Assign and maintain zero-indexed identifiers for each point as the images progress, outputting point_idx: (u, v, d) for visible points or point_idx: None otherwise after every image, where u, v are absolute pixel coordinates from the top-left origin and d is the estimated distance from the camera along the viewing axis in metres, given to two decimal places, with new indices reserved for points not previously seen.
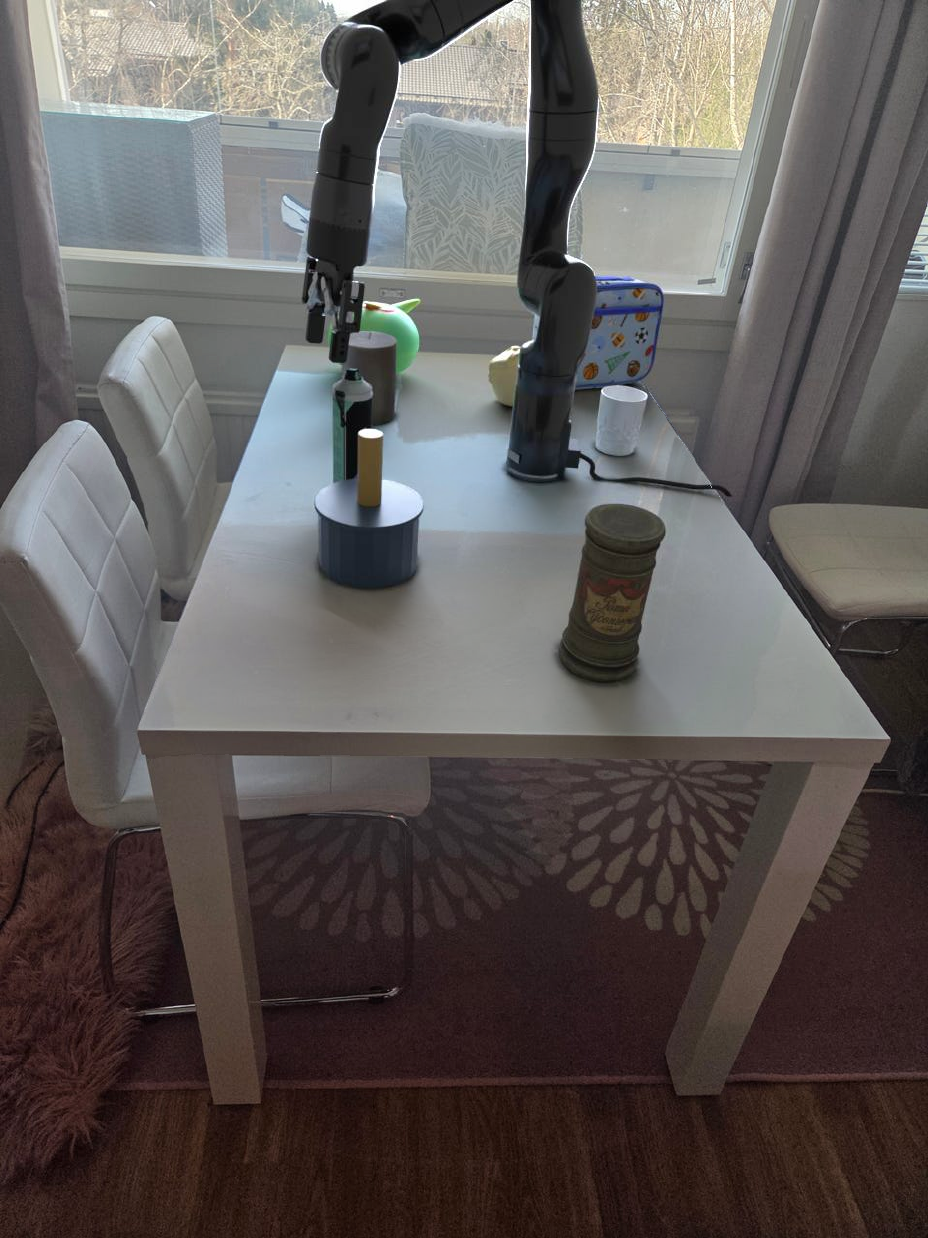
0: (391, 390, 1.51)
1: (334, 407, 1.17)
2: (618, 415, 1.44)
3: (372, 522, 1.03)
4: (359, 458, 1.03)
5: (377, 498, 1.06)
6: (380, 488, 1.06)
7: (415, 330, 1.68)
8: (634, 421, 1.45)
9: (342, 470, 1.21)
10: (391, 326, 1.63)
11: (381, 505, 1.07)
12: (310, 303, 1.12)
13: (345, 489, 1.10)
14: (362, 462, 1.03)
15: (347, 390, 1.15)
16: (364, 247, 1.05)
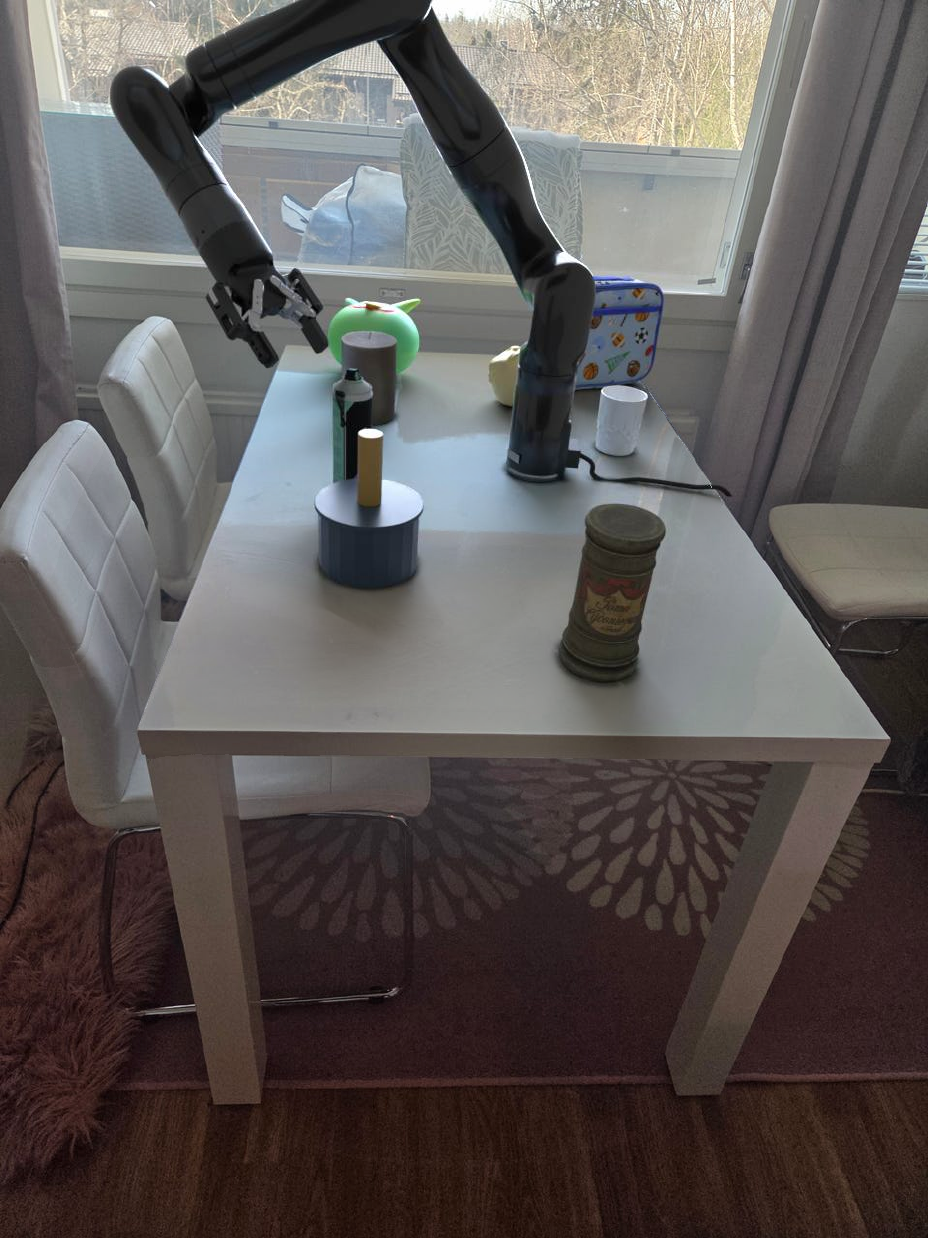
0: (391, 390, 1.51)
1: (334, 407, 1.17)
2: (618, 415, 1.44)
3: (372, 522, 1.03)
4: (359, 458, 1.03)
5: (377, 498, 1.06)
6: (380, 488, 1.06)
7: (415, 330, 1.68)
8: (634, 421, 1.45)
9: (342, 470, 1.21)
10: (391, 326, 1.63)
11: (381, 505, 1.07)
12: None
13: (345, 489, 1.10)
14: (362, 462, 1.03)
15: (347, 390, 1.15)
16: (226, 246, 0.99)
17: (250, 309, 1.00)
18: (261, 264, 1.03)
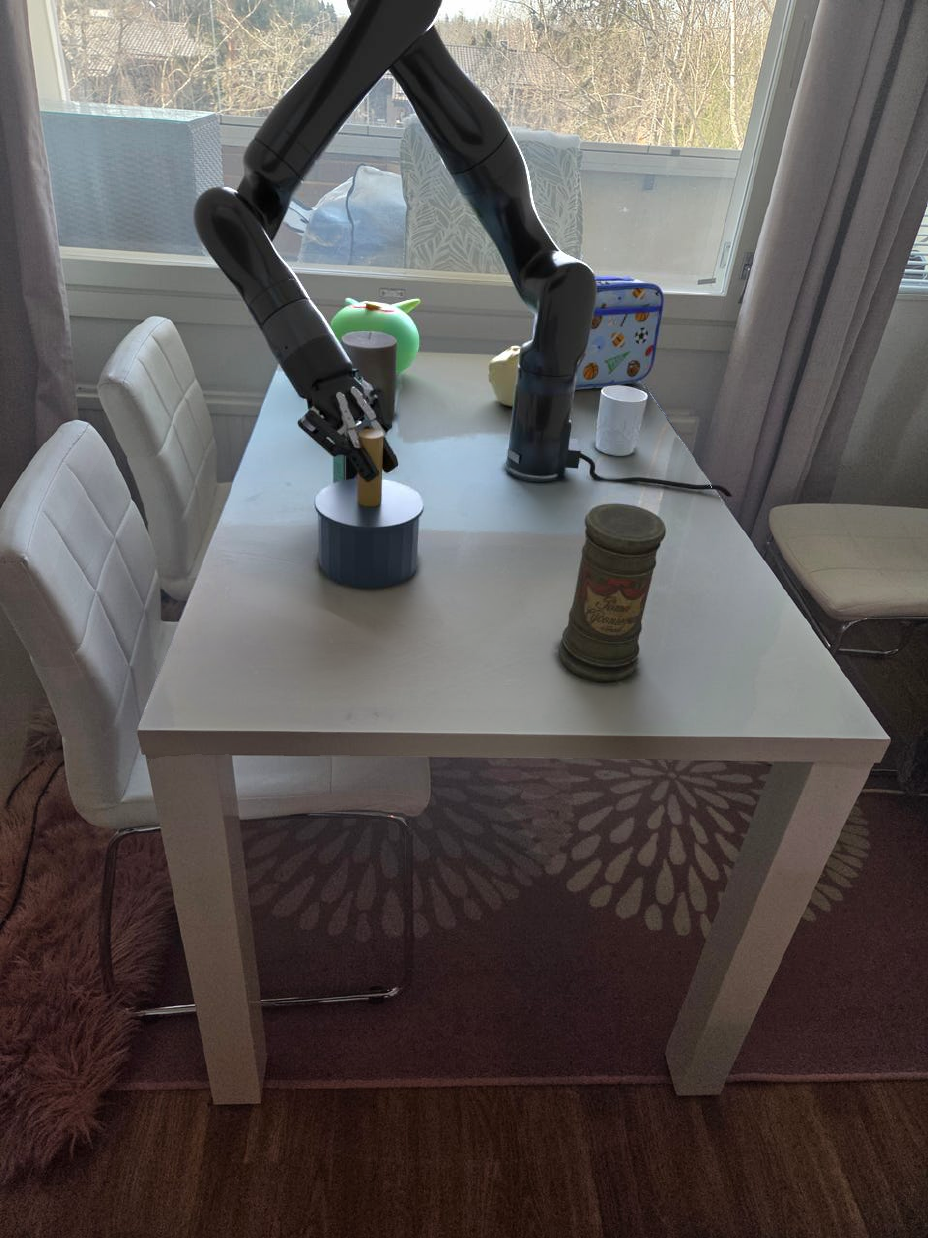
0: (391, 390, 1.51)
1: None
2: (618, 415, 1.44)
3: (372, 522, 1.03)
4: None
5: (377, 498, 1.06)
6: (380, 488, 1.06)
7: (415, 330, 1.68)
8: (634, 421, 1.45)
9: (342, 470, 1.21)
10: (391, 326, 1.63)
11: (381, 505, 1.07)
12: None
13: (345, 489, 1.10)
14: None
15: None
16: (309, 361, 0.99)
17: (345, 427, 1.01)
18: (342, 375, 1.03)
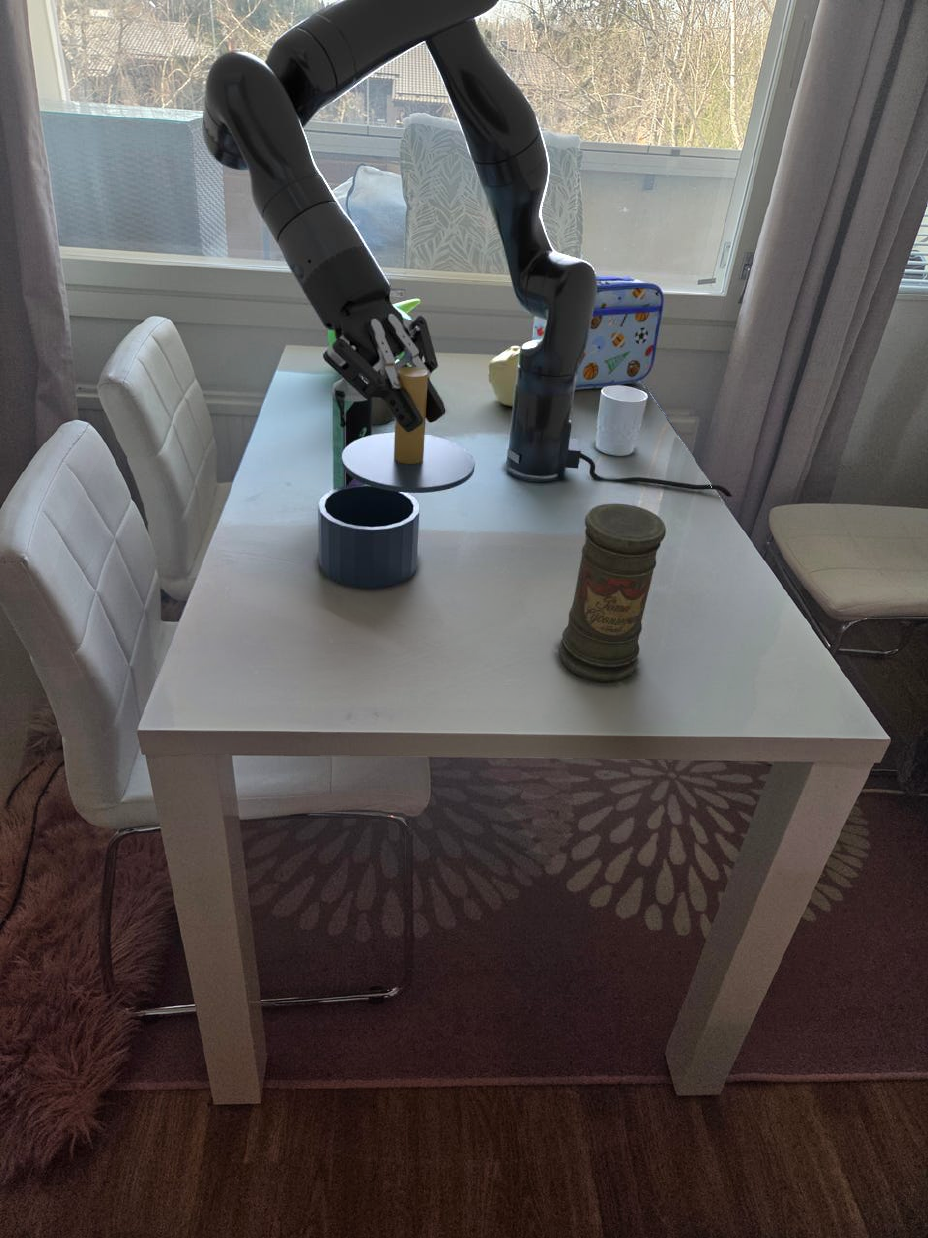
0: None
1: (334, 407, 1.17)
2: (618, 415, 1.44)
3: (414, 482, 0.83)
4: None
5: (419, 454, 0.86)
6: (422, 441, 0.86)
7: None
8: (634, 421, 1.45)
9: (342, 470, 1.21)
10: None
11: (423, 462, 0.87)
12: None
13: (378, 444, 0.90)
14: None
15: (346, 389, 1.15)
16: (338, 279, 0.79)
17: (382, 362, 0.81)
18: (377, 300, 0.83)
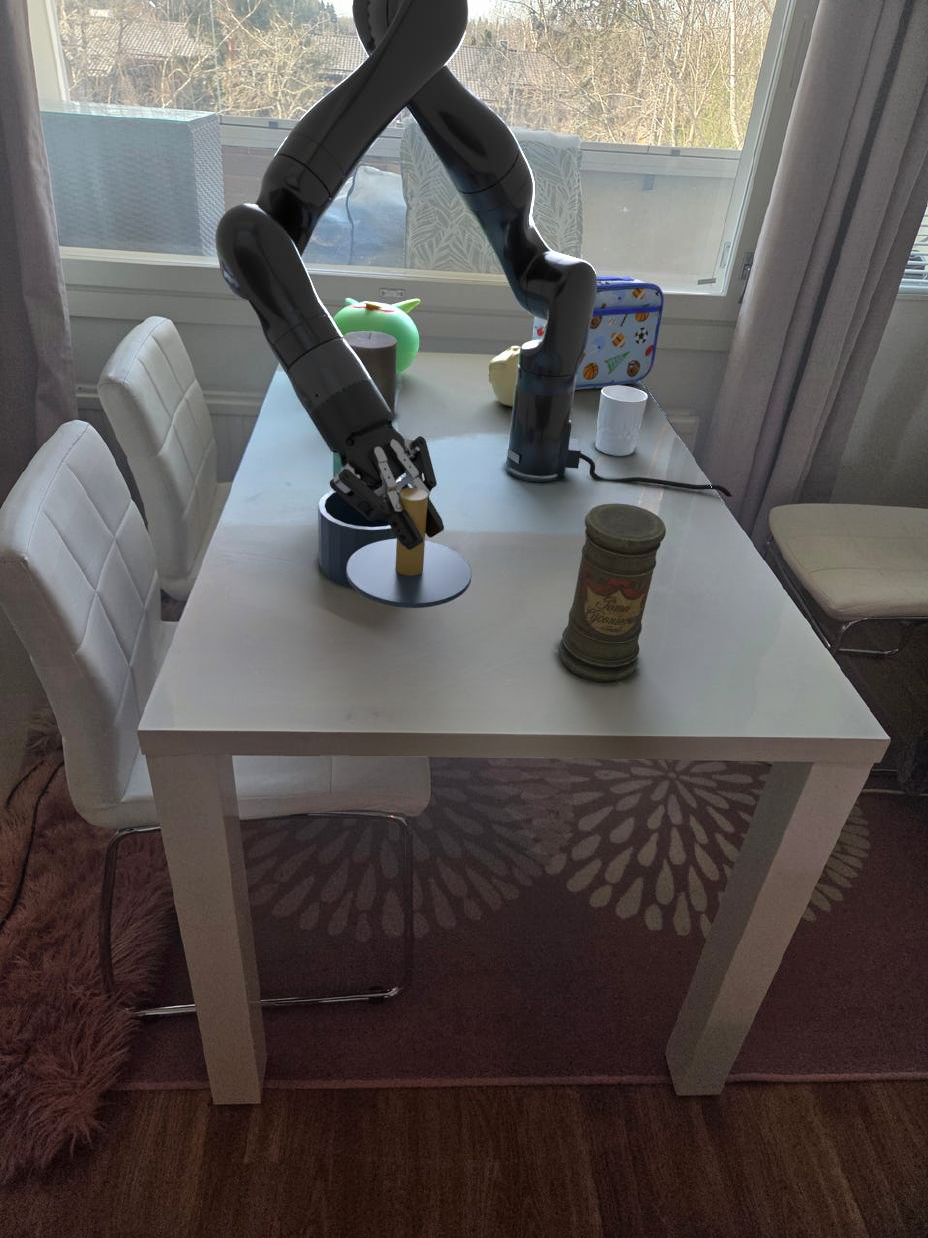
0: (391, 390, 1.51)
1: None
2: (618, 415, 1.44)
3: (414, 596, 0.89)
4: None
5: (419, 566, 0.92)
6: (422, 555, 0.92)
7: (415, 330, 1.68)
8: (634, 421, 1.45)
9: None
10: (391, 326, 1.63)
11: (423, 574, 0.93)
12: None
13: (380, 553, 0.96)
14: None
15: None
16: (344, 412, 0.85)
17: (384, 487, 0.87)
18: (380, 426, 0.89)
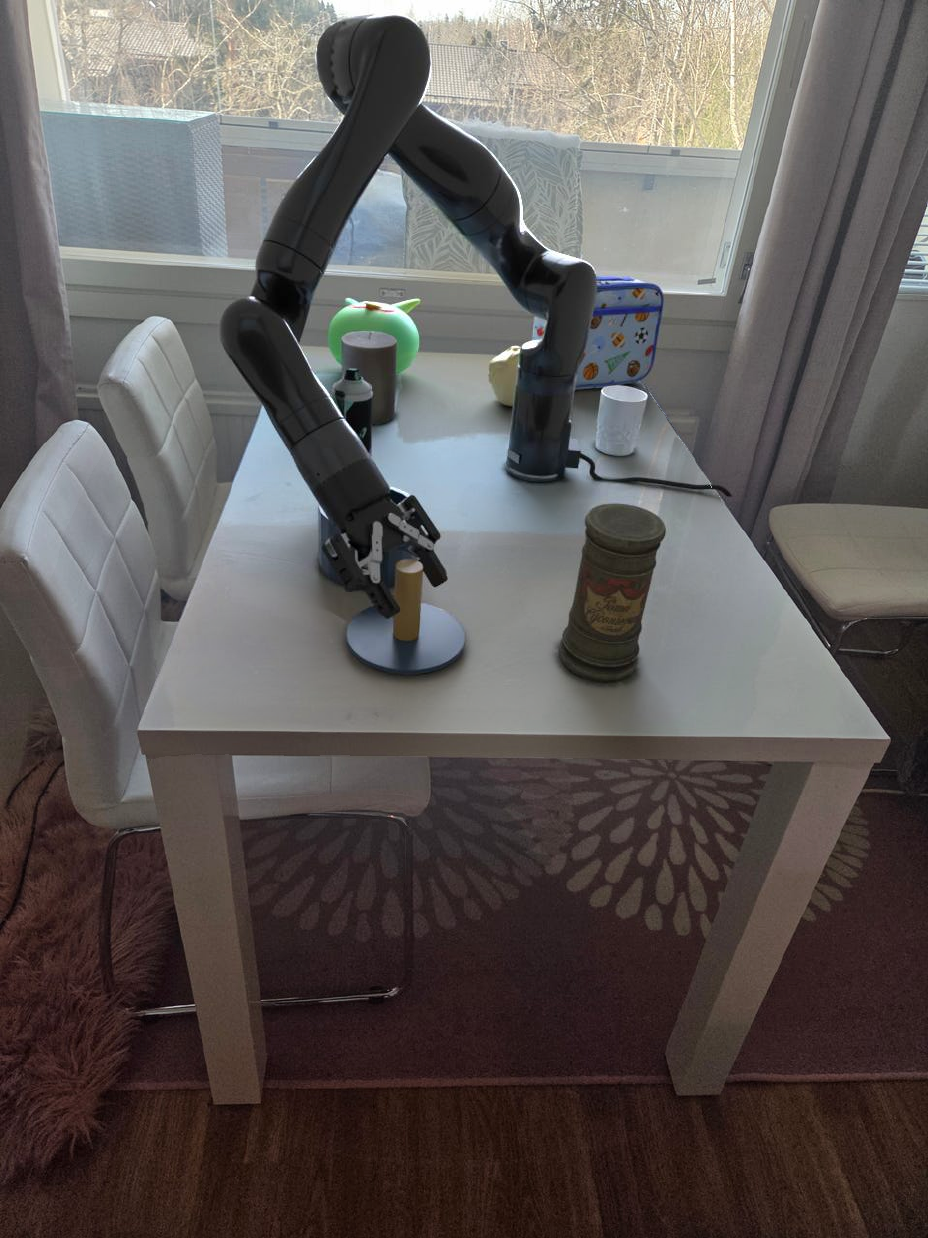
0: (391, 390, 1.51)
1: None
2: (618, 415, 1.44)
3: (411, 663, 0.94)
4: (396, 592, 0.94)
5: (415, 632, 0.97)
6: (418, 621, 0.97)
7: (415, 330, 1.68)
8: (634, 421, 1.45)
9: None
10: (391, 326, 1.63)
11: (419, 639, 0.98)
12: None
13: (379, 617, 1.00)
14: (400, 596, 0.94)
15: (346, 389, 1.15)
16: (344, 490, 0.90)
17: (369, 558, 0.91)
18: (378, 500, 0.94)
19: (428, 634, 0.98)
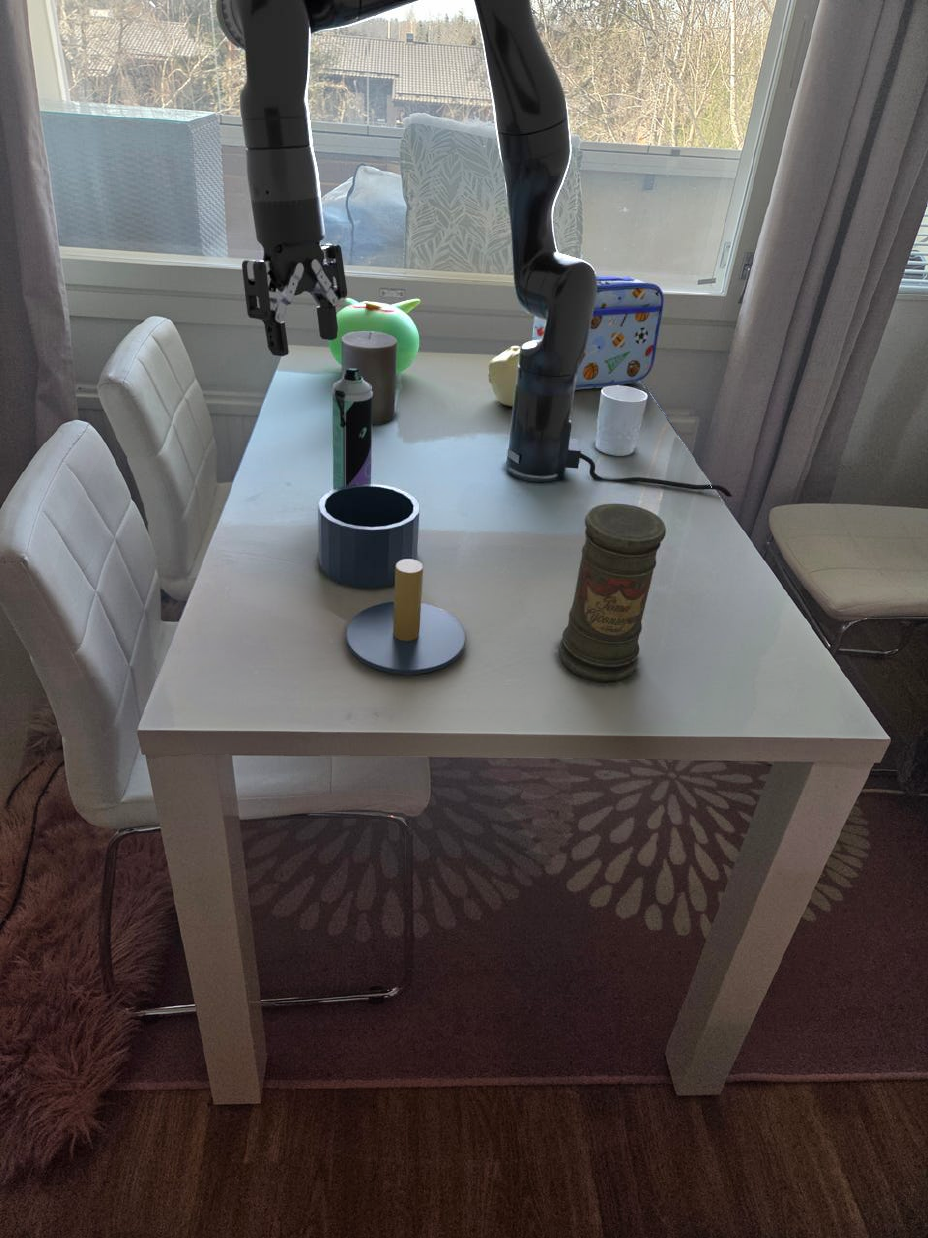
0: (391, 390, 1.51)
1: (334, 407, 1.17)
2: (618, 415, 1.44)
3: (411, 663, 0.94)
4: (396, 592, 0.94)
5: (415, 632, 0.97)
6: (418, 621, 0.97)
7: (415, 330, 1.68)
8: (634, 421, 1.45)
9: (342, 470, 1.21)
10: (391, 326, 1.63)
11: (419, 639, 0.98)
12: None
13: (379, 617, 1.00)
14: (400, 596, 0.94)
15: (346, 389, 1.15)
16: (285, 222, 0.91)
17: (281, 295, 0.95)
18: None
19: (428, 634, 0.98)
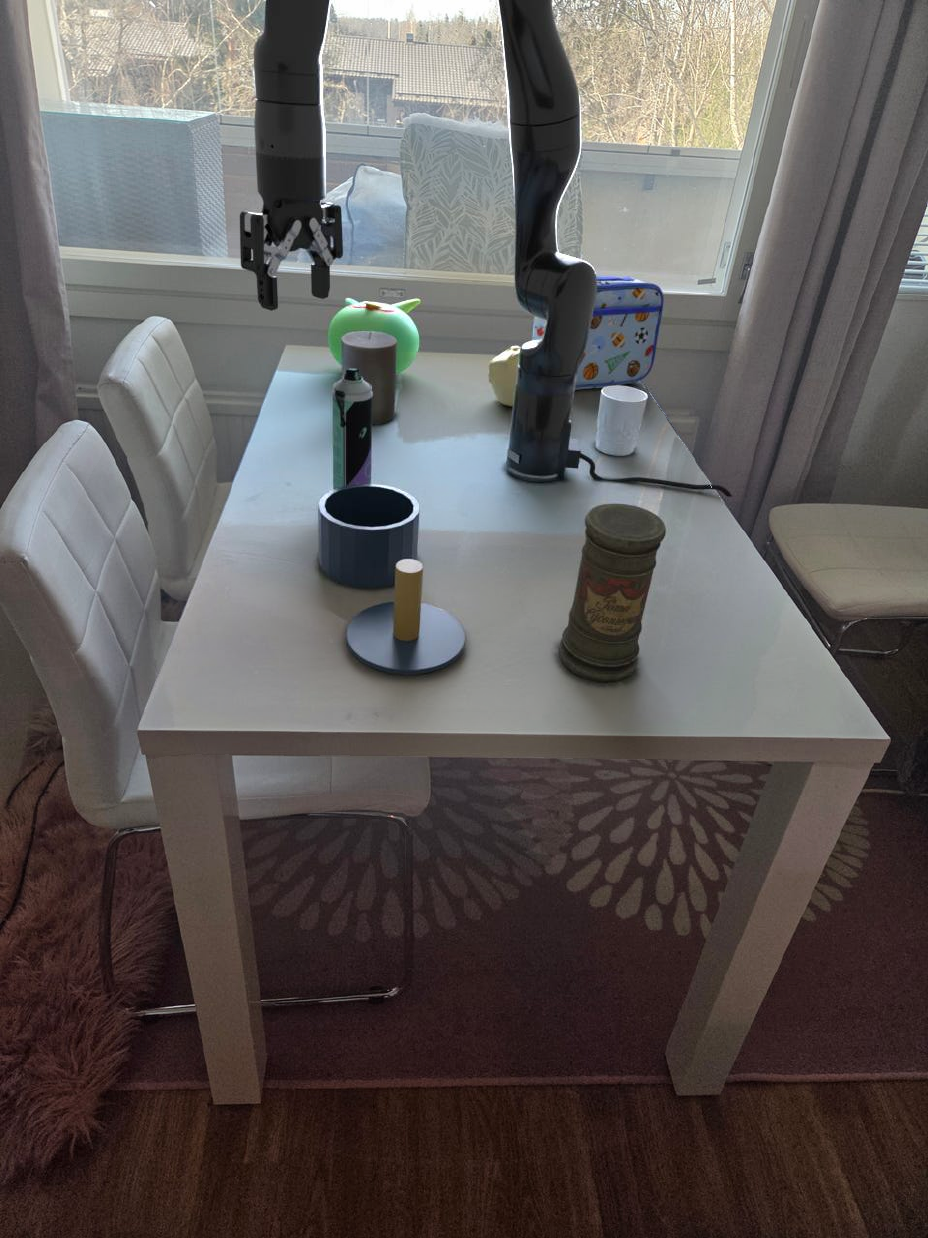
0: (391, 390, 1.51)
1: (334, 407, 1.17)
2: (618, 415, 1.44)
3: (411, 663, 0.94)
4: (396, 592, 0.94)
5: (415, 632, 0.97)
6: (418, 621, 0.97)
7: (415, 330, 1.68)
8: (634, 421, 1.45)
9: (342, 470, 1.21)
10: (391, 326, 1.63)
11: (419, 639, 0.98)
12: None
13: (379, 617, 1.00)
14: (400, 596, 0.94)
15: (346, 390, 1.15)
16: (287, 178, 0.92)
17: (276, 250, 0.96)
18: None
19: (428, 634, 0.98)
